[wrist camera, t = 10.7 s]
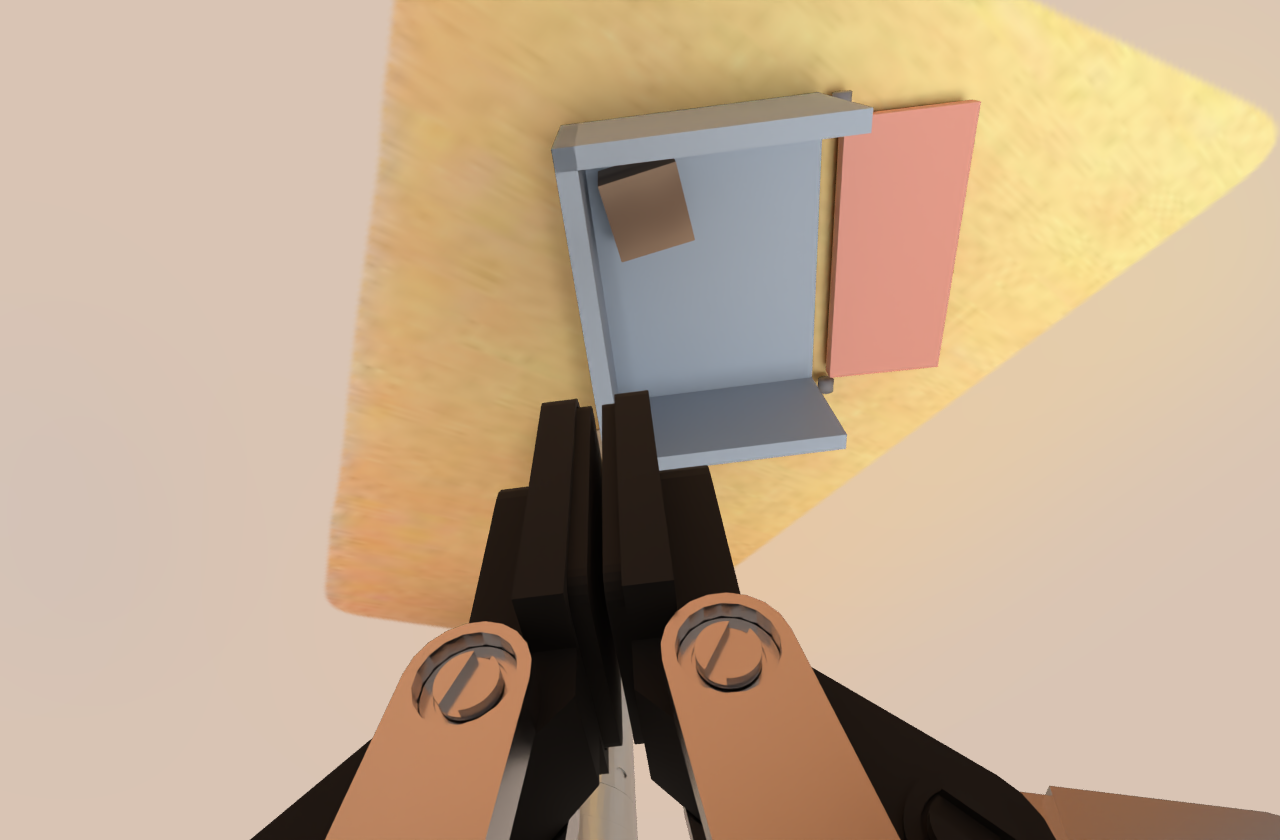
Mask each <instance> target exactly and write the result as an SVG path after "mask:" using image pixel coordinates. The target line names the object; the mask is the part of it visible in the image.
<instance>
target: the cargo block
mask: <svg viewBox="0 0 1280 840" xmlns="http://www.w3.org/2000/svg"><path fill="white" fill-rule="evenodd" d="M598 189H599V192H600V195H601V198H602V202H603V205H604V208H605V211H606V214H607V217H608V221H609V224H610V227H611V230H612V233H613V236H614V240H615V243H616V246H617V249H618V252H619V255H620V259H621V262H625V261H629V260H632V259H635V258H638V257H642V256H645V255H648V254H652V253H655V252H658V251H661V250H665V249H668V248H671V247H674V246H678V245H681V244H684V243H687V242H691V241H694V240H695V238H694V233H693V229H692V225H691V221H690V217H689V213H688V209H687V205H686V201H685V197H684V193H683V189H682V185H681V180H680V176H679V172H678V168H677V164H676V161H675V159H674V158H672V159H664V160H657V161H649V162H641V163H633V164H625V165H618V166H613V167H610V168H607V169H603V170H600V171H598Z"/></svg>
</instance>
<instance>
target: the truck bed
mask: <svg viewBox="0 0 1280 840" xmlns="http://www.w3.org/2000/svg"><path fill="white" fill-rule="evenodd" d="M851 101H852V91H837V92H833V93H832V96H829V95H826V94H822V93H819V92H817V93H809V94H801V95H794V96H786V97H778V98H770V99H763V100H755V101H747V102H739V103H732V104H724V105H716V106H708V107H701V108H693V109H685V110H677V111H670V112H662V113H654V114H646V115H639V116H631V117H623V118H615V119H608V120H600V121H592V122H584V123H577V124H569V125H561V126H560V129H559V131H558V134H557V136H556V139H555V141H554V143H553V146H552V148H551V152H552V157H553V163H554V169H555V175H556V180H557V186H558V192H559V198H560V203H561V209H562V215H563V221H564V227H565V232H566V238H567V244H568V250H569V255H570V261H571V267H572V273H573V278H574V284H575V290H576V296H577V301H578V307H579V313H580V319H581V324H582V330H583V336H584V342H585V347H586V353H587V359H588V365H589V371H590V376H591V382H592V388H593V394H594V399H595V405H596V411H597V417H598V422H599V428H600V434H601V440H602V405H605V404H613V403H615V401H614V394H620V393H628V392H636V391H644V390H648V392H649V399H650V406H651V414H652V421H653V428H654V436H655V443H656V451H657V458H658V465H659V471H661V470H669V469H677V468H685V467H693V466H702V465H707V466H708V465H716V464H724V463H732V462H741V461H749V460H757V459H765V458H773V457H782V456H790V455H798V454H806V453H814V452H823V451H831V450H839V449H846V439H847V434H846V432H845V431H844V429H843V427H842V426H841V424H840V422H839V421H838V419H837V418H836V416H835V414H834V413H833V411H832V409H831V408H830V406H829V404H828V403H827V401H826V400H825V398H824V396H823V395H822V393H823V394H828V393H831V392H833V384H834V379H833V378H830V377H829V376H822V377H820V378H818V387H817V385H816V383H815V382H814V380H813V378H812V361H813V337H814V313H815V290H816V266H817V242H818V218H819V195H820V171H821V147H822V139H828V138H836V137H844V136H852V135H859V134H867V133H871V130H872V118H873V108H872V107H869V106H865V105H862V104H858V103H854V102H851ZM672 158H674V159H675V161H676V164H677V168H678V172H679V176H680V180H681V185H682V189H683V193H684V197H685V201H686V205H687V209H688V213H689V217H690V221H691V225H692V229H693V233H694V238H695V240H694V241H691V242H687V243H684V244H681V245H678V246H674V247H671V248H668V249H665V250H661V251H658V252H655V253H652V254H648V255H645V256H642V257H638V258H635V259H632V260H629V261H625V262H621V259H620V255H619V252H618V249H617V246H616V243H615V240H614V236H613V233H612V230H611V227H610V224H609V221H608V217H607V214H606V211H605V208H604V205H603V202H602V198H601V195H600V192H599V189H598V171H600V170H603V169H607V168H610V167H613V166H618V165H625V164H633V163H641V162H649V161H657V160H664V159H672Z"/></svg>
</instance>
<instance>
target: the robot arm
mask: <svg viewBox="0 0 1280 840" xmlns="http://www.w3.org/2000/svg"><path fill="white" fill-rule="evenodd" d="M614 401H615V403H613V404H605V405H602V459H601V453H600V447H599V442H598V436H597V430H596V425H595V419H594V414H593V409H592V406H588V407H580V406H579V402H578V400H577V399H571V400H563V401H555V402H547V403H542V406H541V412H540V418H539V424H538V431H537V437H536V444H535V450H534V456H533V463H532V469H531V476H530V482H529V487H521V488H513V489H505V490H501V491H500V492H499V493H498V496H497V499H496V504H495V508H494V513H493V517H492V522H491V526H490V531H489V535H488V540H487V544H486V549H485V554H484V558H483V563H482V567H481V572H480V576H479V581H478V585H477V590H476V594H475V599H474V603H473V608H472V612H471V617H470V621H469V623H468V624H464V625H461V626H459V627H456V628H453V629H451V630H448V631H446V632H444V633H443V634H441V635H440V636H438V637H436V638H435V639H433V640H432V641H430V642H428V643H427V644H426V645H425V646H424V647H423V649H422V650H420V651H419V652H418V653H417V654H416V655H415V656H414V657H413V659H412V660H411V662H410V663H409V665H408V666H407V668H406V670H405V671H404V673H403V674H402V676H401V678H400V680H399V683H398V685H397V687H396V689H395V692H394V693H393V696H392V698H391V700H390V702H389V704H388V706H387V708H386V710H385V713H384V715H383V717H382V719H381V721H380V723H379V725H378V728H377V730H376V732H375V734H374V736H373V738H372V739H371V740H370V741H368V742H367V743H366V744H365V745H364V746H362V747H361V748H360V749H359V750H358V751H356V752H355V753H354V754H353V755H351V756H350V757H349V758H348V759H347V760H345V761H344V762H343V763H342V764H341V765H340V766H338V767H337V768H336V769H335V770H333V771H332V772H331V773H330V774H329V775H327V776H326V777H325V778H324V779H323V780H322V781H320V782H319V783H318V784H317V785H315V786H314V787H313V788H312V789H311V790H310V791H308V792H307V793H306V794H305V795H303V796H302V797H301V798H300V799H299V800H297V801H296V802H295V803H294V804H293V805H291V806H290V807H289V808H288V809H287V810H285V811H284V812H283V813H282V814H281V815H279V816H278V817H277V818H276V819H274V820H273V821H272V822H271V823H270V824H268V825H267V826H266V827H265V828H264V829H263V830H261V831H260V832H259V833H258V834H256V835H255V836H254V837H253V838H252V839H251V840H638V837H637V817H636V801H635V779H634V758H633V739H634V743H635V744H643V743H644V744H645V749H646V754H647V760H648V765H649V770H650V776H651V779H652V780H653V781H654V782H655V783H656V784H658V785H659V786H660V787H661V788H662V789H663V790H665V791H666V792H667V793H668V794H669V795H671V796H672V797H673V798H674V799H675V800H676V801H678V802H679V803H680V804H681V805H682V806H683V808H684V815H685V819H686V823H687V827H688V831H689V835H690V839H691V840H1280V816H1279V815H1275V814H1271V813H1268V812H1260V811H1253V810H1244V809H1236V808H1228V807H1220V806H1212V805H1203V804H1195V803H1186V802H1178V801H1170V800H1162V799H1154V798H1146V797H1138V796H1128V795H1121V794H1113V793H1105V792H1096V791H1088V790H1080V789H1072V788H1064V787H1055V786H1049V788H1048V790H1047V792H1046V794H1045V795H1042V794H1034V793H1026V792H1019V791H1018V790H1016V789H1015V788H1014V787H1012V786H1011V785H1009V784H1008V783H1007V782H1006V781H1004V780H1003V779H1001V778H1000V777H999V776H997V775H996V774H994V773H992V772H990V771H989V770H987V769H985V768H984V767H982V766H980V765H978V764H977V763H975V762H973V761H972V760H970V759H968V758H967V757H965V756H963V755H961V754H960V753H958V752H956V751H955V750H953V749H951V748H949V747H948V746H946V745H944V744H943V743H940V742H939V741H937V740H936V739H934V738H932V737H930V736H929V735H927V734H925V733H924V732H922V731H920V730H918V729H917V728H915V727H913V726H912V725H910V724H908V723H906V722H905V721H903V720H901V719H899V718H898V717H896V716H894V715H893V714H891V713H889V712H888V711H886V710H884V709H882V708H881V707H879V706H877V705H876V704H874V703H872V702H870V701H869V700H867V699H865V698H863V697H862V696H860V695H858V694H857V693H855V692H853V691H851V690H850V689H848V688H846V687H845V686H843V685H841V684H840V683H838V682H836V681H834V680H833V679H831V678H829V677H827V676H826V675H824V674H822V673H821V672H819V671H817V670H816V669H814V668H812V667H811V666H810V664H809V662H808V660H807V658H806V656H805V654H804V652H803V650H802V648H801V646H800V644H799V642H798V640H797V638H796V637H795V635H794V633H793V631H792V629H791V628H790V626H789V625H788V624H787V622H786V621H785V619H784V618H783V617H782V615H781V614H780V613H779V612H777V611H776V610H775V609H773V608H772V607H770V606H769V605H768V604H767V603H765V602H763V601H760V600H758V599H755V598H753V597H750V596H748V595H741V594H740V591H739V587H738V583H737V579H736V575H735V571H734V567H733V563H732V559H731V555H730V551H729V547H728V543H727V539H726V535H725V531H724V526H723V522H722V518H721V514H720V510H719V506H718V502H717V498H716V494H715V490H714V486H713V482H712V478H711V474H710V471H709V468H708V466H707V465H702V466H693V467H685V468H677V469H669V470H661V471H659V465H658V458H657V451H656V443H655V436H654V428H653V421H652V414H651V406H650V399H649V392H648V390H644V391H636V392H628V393H620V394H614ZM632 734H633V735H632Z"/></svg>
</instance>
